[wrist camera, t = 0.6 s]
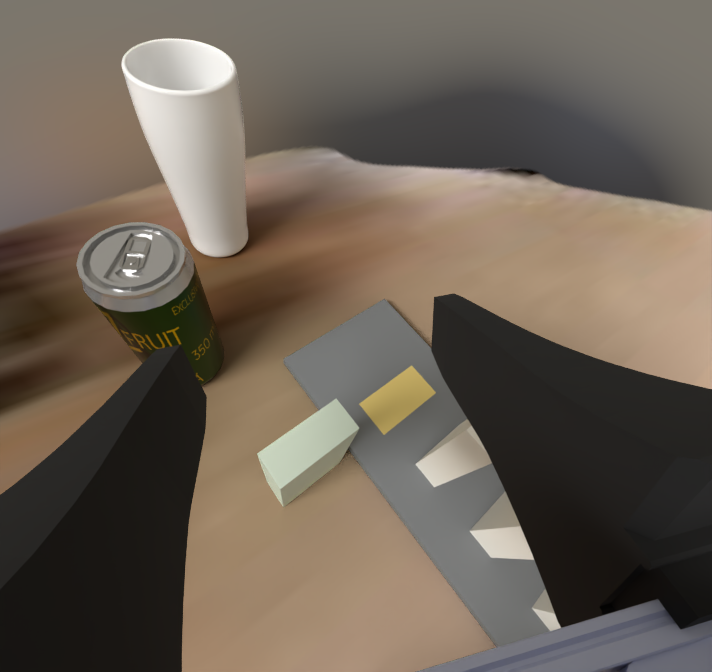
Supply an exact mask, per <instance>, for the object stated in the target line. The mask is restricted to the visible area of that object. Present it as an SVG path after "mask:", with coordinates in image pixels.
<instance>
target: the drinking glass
mask: <svg viewBox="0 0 712 672" xmlns="http://www.w3.org/2000/svg"><path fill="white" fill-rule="evenodd" d="M122 70H123V72H124V76H125V79H126V83H127V86H128V89H129V92H130V96H131V99H132V102H133V105H134V108H135V111H136V114H137V117H138V119H139V122H140V125H141V127H142V130H143V132H144V135H145V137H146V139H147V142H148V144H149V147H150V149H151V151H152V153H153V156H154V158H155V160H156V162H157V164H158V167H159V169H160V171H161V173H162V175H163V177H164V180H165V182H166V184H167V186H168V188H169V191H170V193H171V195H172V197H173V199H174V202H175V204H176V206H177V208H178V211H179V213H180V215H181V217H182V220H183V222H184V224H185V226H186V229H187V232H188V235H189V238H190V241H191V243H192V244H193V246H194V247H195V248H196V249H197V250H198V251H199V252H201V253H203V254H205V255H207V256H211V257H227V256H231V255H234V254H236V253H238V252H239V251H240V250H242V249H243V248H244V246H245V245H246V243H247V241H248V225H247V211H246V174H245V137H244V121H243V111H242V103H241V96H240V90H239V83H238V77H237V71H236V66H235V64H234V62H233V60H231V58H230V57H229V56H228V55H227V54H225V53H224V52H223V51H221V50H219V49H217V48H215V47H213V46H211V45H208V44H205V43H202V42H198V41H193V40H186V39H159V40H152V41H147V42H144V43H141V44H139V45H136V46H134V47H133V48H131V49H130V50H128V52H126V54H125V55H124V57H123V59H122Z"/></svg>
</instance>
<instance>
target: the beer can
mask: <svg viewBox="0 0 712 672" xmlns="http://www.w3.org/2000/svg"><path fill="white" fill-rule="evenodd" d="M76 265H77V269H78V273H79V276H80V278H81V280H82V284H83V288H84V291H85V292H86V294H87V295H88V296H89V297H90V299H91V300H92V301H93V302H94V304H95V305H96V306H97V307H98V309H99V310H100V311H101V312H102V314H103V315H104V316H105V317H106V318H107V320H108V321H109V322H110V323H111V325H112V326H113V327H114V328H115V330H116V331H117V332H118V333H119V335H120V336H121V337H122V338H123V340H124V341H125V342H126V343H127V345H128V346H129V347H130V348H131V349H132V351H133V352H134V353H135V354H136V356H137V357H138V358H139V359H140V361H141V362H142V363H144V362H145V361H146V360H147V359H148V358H149V357H150V356H151V355H152V354H153V353H154V352H155V351H156V350H157V349H160V348H165V347H170V346H176V345H181V346H182V348H183V350H184V352H185V354H186V356H187V358H188V360H189V362H190V364H191V366H192V368H193V370H194V372H195V374H196V376H197V378H198V380H199V383H200V385H204V384H205V383H207V382H208V381H209V380H211V379H212V378H213V377H214V375H215V374H216V373H217V372H218V370H219V369H220V367H221V365H222V362H223V359H224V349H223V346H222V343H221V340H220V337H219V334H218V331H217V328H216V325H215V322H214V319H213V316H212V314H211V311H210V308H209V305H208V302H207V299H206V296H205V293H204V290H203V287H202V284H201V281H200V278H199V275H198V272H197V269H196V266H195V264H194V261H193V258H192V256H191V254H190V251H189V250H188V249H187V248H186V247H185V246H184V245H183V244H182V242H181V239H180V238H179V237H178V236H177V235H175V234H174V233H173V232H172V231H171V230H169V229H167V228H164V227H162V226H160V225H156V224H151V223H146V222H138V223H126V224H121V225H116V226H113V227H110V228H108V229H106V230H104V231H101V232H99V233H98V234H97V235H95V236H94V237H93V238H91V239H90V240H89V241H87V243H86V244H85V245H84V247H83V248H82V250H81V251H80V252H79V256H78V260H77V264H76Z"/></svg>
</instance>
